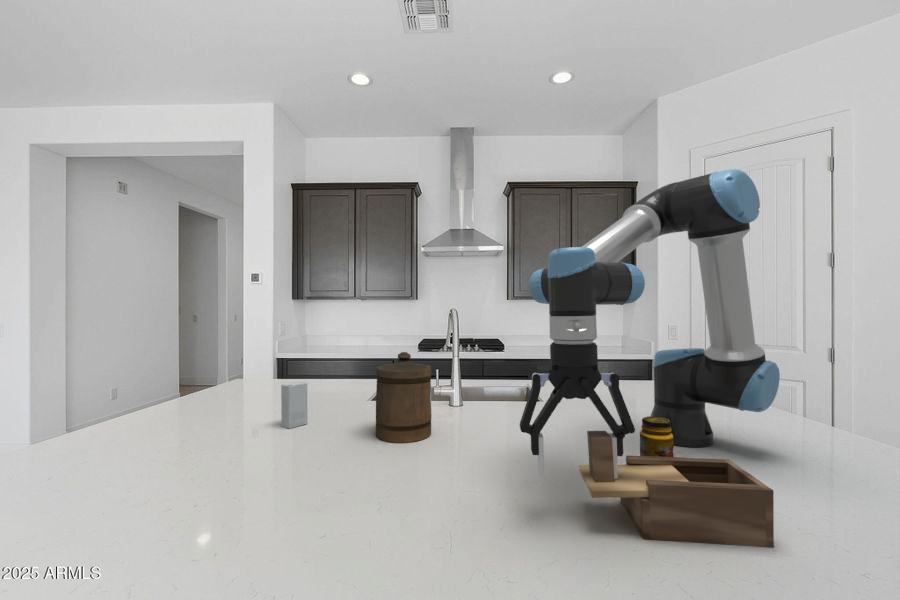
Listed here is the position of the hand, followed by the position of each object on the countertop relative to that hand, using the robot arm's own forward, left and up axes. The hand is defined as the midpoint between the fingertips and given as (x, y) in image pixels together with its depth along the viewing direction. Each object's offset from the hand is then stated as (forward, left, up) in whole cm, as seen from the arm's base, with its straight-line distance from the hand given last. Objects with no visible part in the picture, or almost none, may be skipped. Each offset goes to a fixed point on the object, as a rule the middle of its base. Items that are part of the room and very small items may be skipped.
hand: (576, 474), depth 70 cm
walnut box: (0, +18, -7) cm, 19 cm away
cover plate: (0, +9, -1) cm, 9 cm away
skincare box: (-43, -71, -7) cm, 84 cm away
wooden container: (-39, -38, -7) cm, 55 cm away
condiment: (-17, +18, -7) cm, 26 cm away
